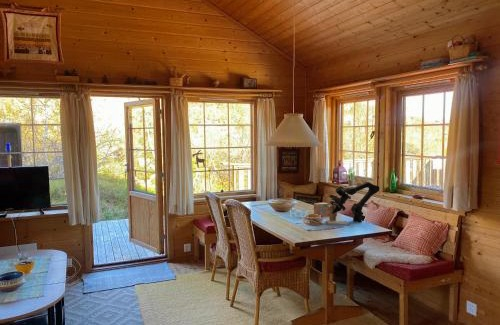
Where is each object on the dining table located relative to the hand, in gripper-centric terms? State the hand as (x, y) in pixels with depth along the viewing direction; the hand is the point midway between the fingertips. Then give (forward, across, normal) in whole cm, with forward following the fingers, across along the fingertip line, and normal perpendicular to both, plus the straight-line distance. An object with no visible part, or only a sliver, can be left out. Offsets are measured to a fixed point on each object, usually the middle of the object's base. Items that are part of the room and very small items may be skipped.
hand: (331, 212), depth 328 cm
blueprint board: (+3, +2, +10) cm, 11 cm away
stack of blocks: (0, -28, +13) cm, 31 cm away
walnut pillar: (+4, 0, +6) cm, 7 cm away
